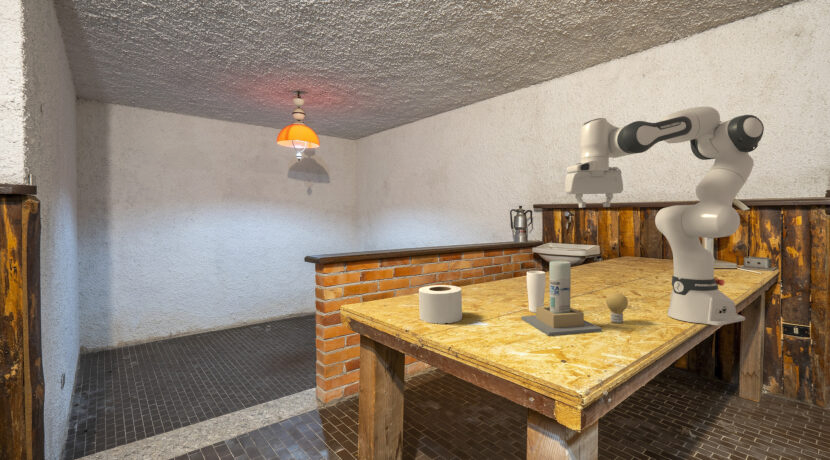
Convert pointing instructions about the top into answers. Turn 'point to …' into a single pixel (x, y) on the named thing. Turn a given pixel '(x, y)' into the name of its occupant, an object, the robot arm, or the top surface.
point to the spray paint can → (560, 286)
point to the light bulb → (616, 306)
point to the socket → (560, 322)
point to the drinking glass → (535, 289)
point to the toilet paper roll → (440, 304)
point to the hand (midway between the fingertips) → (594, 207)
